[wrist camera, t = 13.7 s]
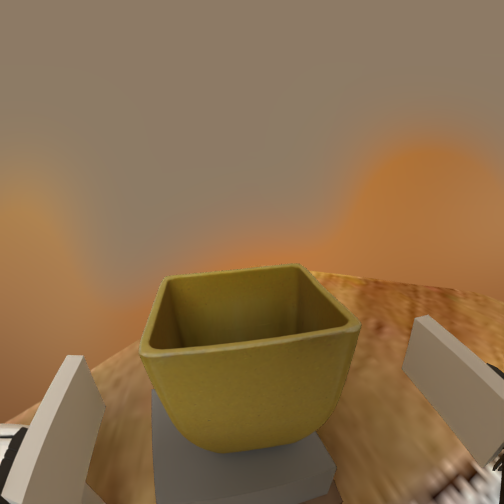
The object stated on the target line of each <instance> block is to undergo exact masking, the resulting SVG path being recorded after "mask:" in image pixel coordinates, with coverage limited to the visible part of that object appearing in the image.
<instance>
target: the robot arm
mask: <svg viewBox="0 0 504 504" xmlns="http://www.w3.org/2000/svg"><path fill="white" fill-rule="evenodd" d="M402 370H403V371H404V372H405V373H406V375H407V376H408V377H409V378H410V379H411V381H412V382H413V383H414V384H415V385H416V387H417V388H418V389H419V390H420V391H421V393H422V394H423V395H424V396H425V397H426V399H427V400H428V401H429V402H430V403H431V405H432V406H433V407H434V408H435V410H436V411H437V412H438V413H439V415H440V416H441V417H442V418H443V419H444V421H445V422H446V423H447V424H448V426H449V427H450V428H451V429H452V431H453V432H454V433H455V434H456V436H457V437H458V438H459V440H460V441H461V442H462V443H463V445H464V446H465V447H466V448H467V450H468V451H469V452H470V454H471V455H472V456H473V458H474V459H475V460H476V461H477V463H478V464H479V465H480V467H481V468H483V467H484V466H486V465H487V464H488V463H490V462H491V461H492V460H494V459H495V458H496V457H497V455H498V454H499V453H500V452H501V450H502V449H504V373H503V372H502V371H501V370H499V369H498V368H497V367H495V366H493V365H490V364H488V363H485V362H483V361H482V360H481V359H480V358H479V357H478V356H477V355H475V354H474V353H473V352H472V351H471V350H470V349H468V348H467V347H466V346H465V345H464V344H463V343H461V342H460V341H459V340H458V339H457V338H455V337H454V336H453V335H452V334H451V333H450V332H448V331H447V330H446V329H445V328H443V327H442V326H441V325H440V324H439V323H437V322H436V321H435V320H434V319H432V318H431V317H430V316H429V315H425V316H421V317H417V318H415V319H414V324H413V328H412V332H411V336H410V340H409V344H408V348H407V352H406V355H405V359H404V362H403V366H402ZM105 408H106V406H105V404H104V402H103V399H102V397H101V395H100V393H99V391H98V389H97V386H96V384H95V382H94V380H93V377H92V375H91V372H90V370H89V368H88V365H87V363H86V360H85V358H84V356H75V355H74V356H72V355H67V357H66V359H65V360H64V362H63V364H62V365H61V367H60V369H59V371H58V372H57V374H56V376H55V378H54V380H53V382H52V383H51V385H50V387H49V389H48V391H47V393H46V394H45V396H44V398H43V400H42V402H41V404H40V406H39V408H38V410H37V412H36V414H35V416H34V418H33V420H32V422H31V424H30V426H29V428H25V427H22V428H21V429H20V430H19V431H18V432H17V433H16V434H15V435H14V436H13V437H12V439H11V441H10V444H9V446H8V450H6V452H5V454H4V459H2V461H1V464H0V504H81V499H82V494H83V490H84V485H85V481H86V477H87V473H88V469H89V464H90V461H91V457H92V453H93V449H94V445H95V442H96V438H97V435H98V431H99V428H100V424H101V421H102V418H103V414H104V411H105ZM501 463H502V465H501V466H500V467H499V469H498V471H502V478H501V491H500V501H499V504H504V454H503V455H502V456H501V457H500V459H499V460H498V461H497V462H496V464H495V465H494V467H493V470H492V471H495V470H496V469H497V468H498V466H499V465H500V464H501Z"/></svg>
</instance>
